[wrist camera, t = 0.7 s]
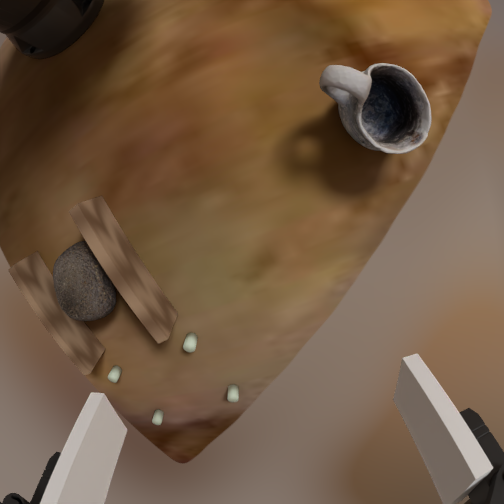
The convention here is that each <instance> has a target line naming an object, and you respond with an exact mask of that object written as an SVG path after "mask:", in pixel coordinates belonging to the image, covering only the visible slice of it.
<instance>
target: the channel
mask: <svg viewBox="0 0 504 504" xmlns="http://www.w3.org/2000/svg"><path fill="white" fill-rule="evenodd" d="M69 213H70V215H71V216H72V218H73V220H74V222H75V223H76V225H77V227H78V229H79V230H80V232H81V234H82V235H83V237H84V239H85V240H86V242H87V244H88V245H89V247H90V249H91V250H92V252H93V253H94V255H95V256H96V258H97V260H98V261H99V263H100V264H101V266H102V267H103V269H104V270H105V272H106V273H107V275H108V276H109V278H110V279H111V281H112V282H113V284H114V285H115V287H116V288H117V290H118V291H119V292H120V294H121V295H122V297H123V298H124V299H125V301H126V302H127V304H128V305H129V306H130V308H131V309H132V310H133V312H134V313H135V314H136V316H137V317H138V318H139V320H140V321H141V322H142V324H143V325H144V326H145V328H146V329H147V330H148V331H149V333H150V334H151V335H152V336H153V338H154V339H155V340H156V341H157V343H158V344H159V343H161V342H163V341H165V340H168V338H169V336H170V333H171V330H172V328H173V325H174V323H175V320H176V318H177V315H178V313H177V311H176V310H175V309H174V307H173V306H172V304H171V303H170V302H169V300H168V299H167V297H166V296H165V295H164V293H163V292H162V290H161V289H160V287H159V286H158V284H157V283H156V282H155V280H154V279H153V277H152V276H151V274H150V273H149V271H148V270H147V268H146V267H145V265H144V264H143V262H142V261H141V259H140V258H139V256H138V254H137V253H136V251H135V250H134V248H133V247H132V245H131V244H130V242H129V240H128V239H127V237H126V236H125V234H124V232H123V231H122V229H121V227H120V226H119V224H118V222H117V221H116V219H115V217H114V216H113V214H112V212H111V211H110V209H109V207H108V206H107V204H106V202H105V200H104V199H103V197H102V196H99V197H96V198H93V199H90V200H87V201H84V202H81V203H78V204H77V205H76V206H74V207H73V208H72V209H71V210H70V211H69ZM9 272H10V274H11V276H12V277H13V279H14V281H15V282H16V284H17V286H18V287H19V289H20V291H21V292H22V294H23V295H24V297H25V298H26V300H27V302H28V303H29V304H30V306H31V308H32V309H33V311H34V312H35V313H36V315H37V316H38V318H39V319H40V321H41V322H42V323H43V325H44V326H45V328H46V329H47V330H48V332H49V333H50V334H51V335H52V337H53V338H54V339H55V341H56V342H57V343H58V345H59V346H60V347H61V348H62V350H63V351H64V352H65V353H66V355H67V356H68V357H69V358H70V359H71V361H72V362H73V363H74V364H75V365H76V366H77V368H78V369H79V370H80V371H81V372H82V373H83V374H84V375H87V374H89V373H91V371H92V370H93V368H94V367H95V365H96V363H97V362H98V360H99V358H100V357H101V355H102V354H103V352H104V350H105V348H104V347H103V345H102V344H101V343H100V342H99V340H98V339H97V338H96V337H95V335H94V334H93V333H92V332H91V330H90V329H89V328H88V326H87V325H86V324H85V322H84V321H79V320H75V319H72V318H70V317H69V316H68V315H67V314H66V313H65V312H64V311H63V310H62V309H61V307H60V305H59V303H58V300H57V297H56V292H55V288H54V281H53V276H52V275H51V273H50V271H49V270H48V268H47V267H46V265H45V263H44V262H43V260H42V258H41V256H40V255H39V253H38V251H37V252H35V253H33V254H31V255H30V256H28V257H26V258H24V259H23V260H21V261H19V262H18V263H16V264H14V265H13V266H12V267H11V268H10V269H9Z"/></svg>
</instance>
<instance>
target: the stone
mask: <svg viewBox="0 0 504 504" xmlns="http://www.w3.org/2000/svg"><path fill="white" fill-rule="evenodd" d="M53 281H54V288H55V292H56V297H57V300H58V303H59V305H60V307H61V309H62V310H63V311H64V312H65V313H66V314H67V315H68V316H69V317H70V318H72V319H75V320H79V321H93V320H97V319H101V318H103V317H105V316H107V315H108V314H110V313H111V312H112V311H113V309H114V307H115V304H116V291H115V288H114V284H113V282H112V281H111V279H110V278H109V276H108V275H107V273H106V272H105V270H104V269H103V267H102V266H101V264H100V263H99V261H98V260H97V258H96V256H95V255H94V253H93V252H92V250H91V249H90V247H89V245H88V244H87V242H86V241H81V242H78V243H76V244H74V245H73V246H71V247H69V248H68V249H67V250H66V251H64V252H63V253H62V254H61V255H60V256H59V257H58V259H57V260H56V262H55V264H54V269H53Z"/></svg>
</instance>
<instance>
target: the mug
mask: <svg viewBox="0 0 504 504" xmlns="http://www.w3.org/2000/svg"><path fill="white" fill-rule="evenodd" d="M319 84H320V88H321V89H322V91H324V92H325V93H326V94H327V95H329V96H330V97H331V98H333V99H334V100H335V101H336V102H337V103H338V109H339V115H340V118H341V121H342V124H343V126H344V127H345V129H346V131H347V132H348V133H349V135H350V136H351V137H352V138H353V139H354V140H355V141H357V142H358V143H359V144H361V145H362V146H364V147H366V148H368V149H372V150H375V151H382V152H385V153H391V154H402V153H408V152H410V151H412V150H414V149H416V148H417V147H419V146H420V145H421V144H422V143H423V142H424V141H425V140H426V138H427V136H428V132H429V129H430V126H431V109H430V104H429V101H428V99H427V96H426V93H425V92H424V90H423V89H422V87H421V85H420V84H419V83H418V81H417V79H416V78H415V77H414V76H413V75H412V74H411V73H410V72H408V71H407V70H405V69H404V68H402V67H399V66H397V65H392V64H386V63H380V64H374V65H372V66H370V67H368V68H367V69H366V71H363V72H360V71H358V70H355V69H353V68H350V67H346V66H341V65H330V66H328V67H327V68H326V69H325V70H324V71H323V73H322V75H321V77H320V82H319Z"/></svg>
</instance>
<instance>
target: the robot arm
mask: <svg viewBox="0 0 504 504" xmlns="http://www.w3.org/2000/svg"><path fill="white" fill-rule="evenodd" d="M103 1H104V0H0V32H1V33H3V34H5V35H6V36H7V37H8V38H9V40H10V41H11V42H12V43H13V44H14V46H15V47H16V48H17V49H18V50H19V51H20V52H21V53H22V54H24V55H27V56H29V57H32V58H36V59H43V58H48V57H51V56H53V55H56V54H58V53H59V52H61V51H63V50H64V49H66V48H67V47H69V46H70V45H71V44H72V43H74V42H75V41H76V40H77V39H78V38H79V37H80V36H81V35H82V34H83V33H84V32H85V31H86V30H87V29H88V27H89V26H90V25H91V24H92V22H93V21H94V19H95V18H96V16H97V15H98V13H99V11H100V9H101V7H102V4H103ZM393 400H394V402H395V404H396V406H397V408H398V410H399V412H400V414H401V416H402V418H403V420H404V422H405V424H406V426H407V428H408V430H409V431H410V434H411V436H412V438H413V440H414V442H415V444H416V446H417V448H418V450H419V452H420V454H421V456H422V458H423V460H424V463H425V465H426V467H427V469H428V471H429V473H430V475H431V477H432V480H433V482H434V484H435V487H436V489H437V491H438V493H439V496H440V498H441V500H442V502H443V504H456V503H458V502H460V501H462V500H463V499H464V498H465V497H466V496H467V495H468V496H469V498H470V499H469V500H468V501H467V502H466V503H465V504H504V452H503V451H502V449H501V447H500V446H499V444H498V442H497V441H496V439H495V438H494V436H493V435H492V434H491V432H489V429H488V427H487V426H486V425H485V423H484V422H483V420H482V419H481V417H480V416H479V415H478V414H477V413H476V412H474V411H473V410H471V409H470V408H468V409H466V410H464V411H462V412H460V413H459V412H458V410H457V409H456V407H455V406H454V405H453V403H452V402H451V400H450V398H449V397H448V396H447V394H446V393H445V391H444V390H443V389H442V387H441V386H440V384H439V383H438V381H437V380H436V378H435V377H434V376H433V374H432V373H431V372H430V370H429V369H428V367H427V366H426V365H425V363H424V362H423V361H422V359H421V358H420V356H419V355H418V354H414V355H411V356H407V357H404V358H402V362H401V367H400V372H399V377H398V381H397V386H396V390H395V394H394V398H393ZM126 433H127V428H126V427H125V426H124V424H123V423H122V421H121V420H120V418H119V417H118V415H117V413H116V412H115V410H114V409H113V407H112V405H111V404H110V402H109V401H108V399H107V397H106V396H105V394H104V393H91V394H90V396H89V398H88V400H87V401H86V403H85V405H84V407H83V409H82V411H81V413H80V415H79V417H78V419H77V421H76V423H75V425H74V428H73V429H72V431H71V434H70V436H69V438H68V440H67V442H66V444H65V446H64V449H63V451H62V453H59V452H56V453H55V454H54V455H53V456H52V457H51V458H50V459H49V461H48V463H47V466H46V470H44V473H43V474H42V475H43V477H41V479H40V482H39V484H38V486H37V488H36V491H35V494H34V495H33V498H32V500H31V502H30V503H29V502H27V500H25V499H24V498H23V497H21V496H20V495H19V494H16V493H10V494H9V495H7V496H6V497H5V498H4V500H3V503H1V502H0V504H104V503H105V500H106V496H107V492H108V489H109V486H110V483H111V479H112V476H113V473H114V470H115V466H116V463H117V460H118V457H119V454H120V451H121V447H122V444H123V441H124V439H125V435H126Z"/></svg>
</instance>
